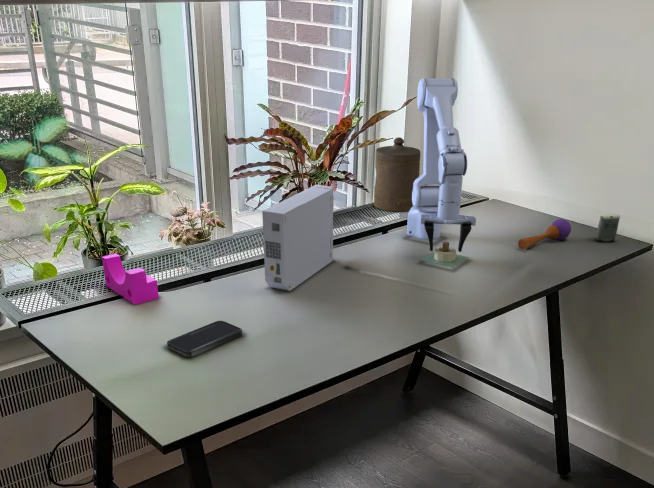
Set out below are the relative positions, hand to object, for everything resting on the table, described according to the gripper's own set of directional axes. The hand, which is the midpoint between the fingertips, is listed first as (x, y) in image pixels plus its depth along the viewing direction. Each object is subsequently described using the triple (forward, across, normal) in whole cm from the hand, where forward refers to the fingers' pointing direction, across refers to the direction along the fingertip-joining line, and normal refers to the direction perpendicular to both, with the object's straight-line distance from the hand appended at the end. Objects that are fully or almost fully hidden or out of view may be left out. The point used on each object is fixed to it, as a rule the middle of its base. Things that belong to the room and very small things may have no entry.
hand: (445, 250), depth 197 cm
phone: (+4, -54, -53) cm, 76 cm away
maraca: (+3, +30, +18) cm, 36 cm away
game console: (+4, -38, -13) cm, 40 cm away
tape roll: (+2, 0, 0) cm, 2 cm away
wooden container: (+3, -13, +54) cm, 55 cm away
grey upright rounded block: (+3, +49, +23) cm, 54 cm away
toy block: (+4, -77, -28) cm, 82 cm away
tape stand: (+3, 0, 0) cm, 3 cm away
